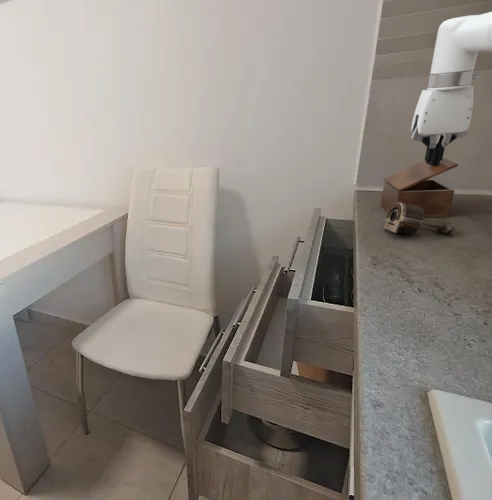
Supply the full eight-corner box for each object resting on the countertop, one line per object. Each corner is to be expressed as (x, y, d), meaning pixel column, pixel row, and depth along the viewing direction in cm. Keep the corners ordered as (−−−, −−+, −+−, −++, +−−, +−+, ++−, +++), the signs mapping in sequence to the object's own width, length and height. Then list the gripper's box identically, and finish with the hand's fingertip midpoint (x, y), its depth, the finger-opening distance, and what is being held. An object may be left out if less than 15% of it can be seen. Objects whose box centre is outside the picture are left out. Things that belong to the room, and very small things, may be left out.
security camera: (386, 200, 88) (383, 203, 80) (456, 199, 80) (460, 203, 73) (384, 230, 89) (381, 236, 81) (453, 232, 82) (456, 239, 74)
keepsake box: (428, 203, 98) (434, 179, 95) (448, 217, 88) (454, 190, 86) (380, 205, 101) (384, 181, 98) (394, 218, 91) (398, 192, 89)
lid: (437, 156, 93) (436, 154, 92) (458, 165, 84) (457, 163, 83) (384, 180, 98) (383, 178, 98) (399, 191, 89) (398, 189, 88)
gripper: (480, 77, 83) (460, 158, 90) (404, 85, 87) (391, 162, 94) (500, 77, 76) (478, 165, 84) (417, 85, 80) (402, 169, 88)
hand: (432, 163), depth 89 cm, fingers closed
